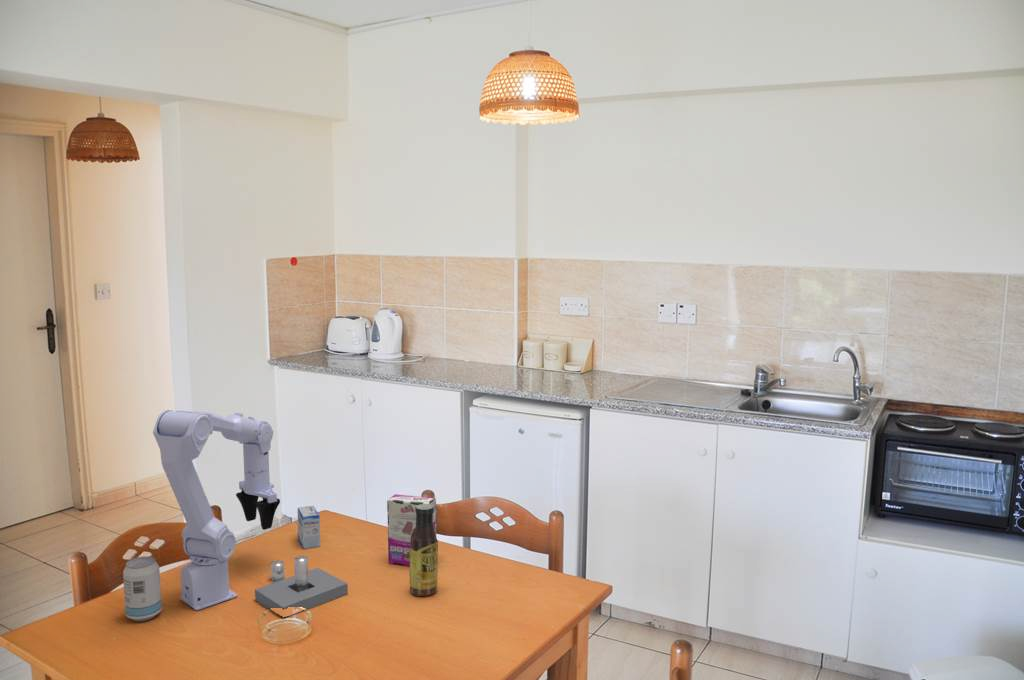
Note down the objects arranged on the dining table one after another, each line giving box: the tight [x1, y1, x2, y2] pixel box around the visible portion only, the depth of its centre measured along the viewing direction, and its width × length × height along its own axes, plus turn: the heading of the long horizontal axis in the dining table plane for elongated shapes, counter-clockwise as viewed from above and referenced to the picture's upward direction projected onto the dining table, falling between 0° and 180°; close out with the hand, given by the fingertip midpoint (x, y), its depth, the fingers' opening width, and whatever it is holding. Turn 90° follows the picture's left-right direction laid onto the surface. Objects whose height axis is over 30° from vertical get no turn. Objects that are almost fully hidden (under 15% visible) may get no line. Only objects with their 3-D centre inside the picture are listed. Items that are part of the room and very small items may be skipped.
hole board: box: [254, 567, 349, 610], centre depth 178 cm, size 16×12×2 cm
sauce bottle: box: [409, 504, 439, 597], centre depth 180 cm, size 7×6×20 cm
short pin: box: [270, 559, 286, 583], centre depth 187 cm, size 3×3×4 cm
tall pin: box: [293, 555, 310, 593], centre depth 178 cm, size 3×3×9 cm
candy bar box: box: [386, 493, 437, 567], centre depth 195 cm, size 11×5×16 cm, turn 73°
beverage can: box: [122, 555, 163, 622], centre depth 168 cm, size 7×7×12 cm
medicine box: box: [297, 505, 321, 550], centre depth 208 cm, size 8×4×9 cm, turn 25°
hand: (258, 524), depth 193 cm, fingers open, 7 cm apart
